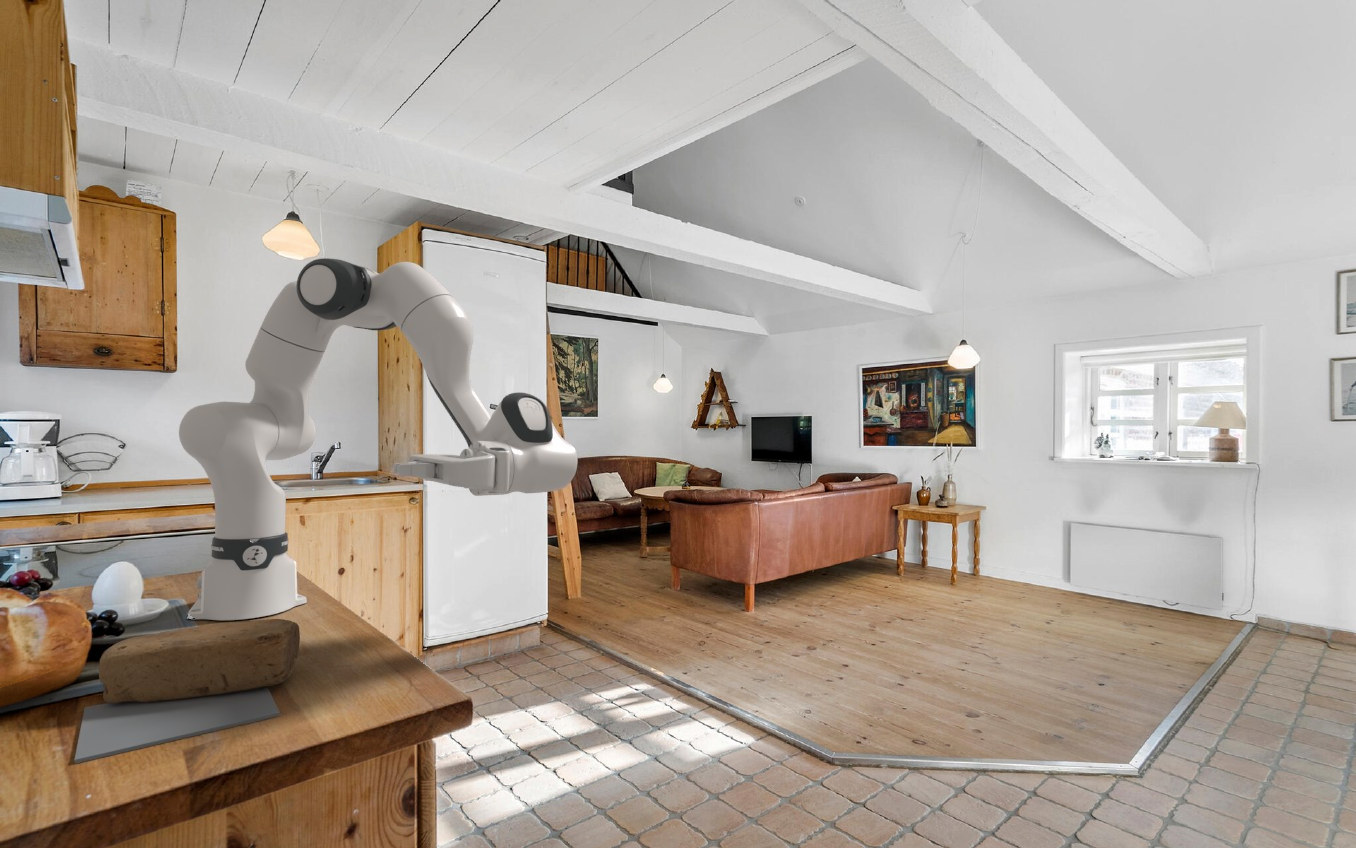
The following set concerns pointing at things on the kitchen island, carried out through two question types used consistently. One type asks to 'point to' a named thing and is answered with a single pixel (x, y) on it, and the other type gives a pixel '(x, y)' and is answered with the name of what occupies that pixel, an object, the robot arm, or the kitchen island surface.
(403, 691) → the kitchen island surface
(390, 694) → the kitchen island surface
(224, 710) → the mat
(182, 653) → the block
